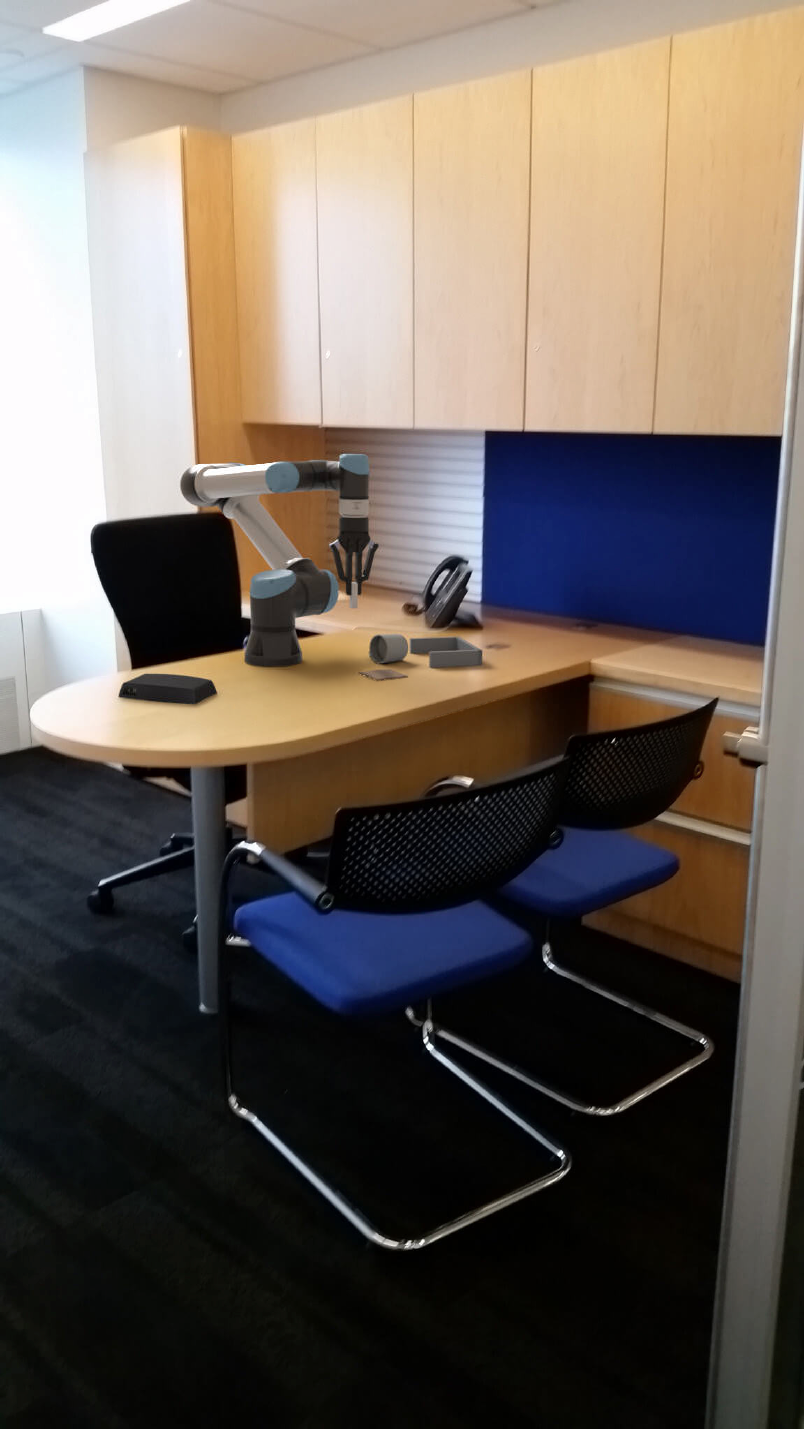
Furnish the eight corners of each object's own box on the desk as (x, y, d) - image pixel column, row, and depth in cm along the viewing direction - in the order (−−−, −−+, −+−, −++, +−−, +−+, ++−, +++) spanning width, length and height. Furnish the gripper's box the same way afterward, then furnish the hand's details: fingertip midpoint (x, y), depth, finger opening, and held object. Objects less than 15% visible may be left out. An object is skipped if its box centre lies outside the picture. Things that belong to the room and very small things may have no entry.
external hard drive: (145, 687, 273) (144, 670, 272) (219, 694, 268) (218, 677, 267) (116, 699, 261) (115, 682, 260) (193, 707, 256) (192, 689, 255)
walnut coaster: (376, 683, 282) (376, 679, 282) (358, 675, 289) (358, 671, 289) (407, 679, 287) (407, 675, 286) (389, 672, 294) (389, 668, 294)
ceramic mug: (410, 661, 304) (410, 633, 302) (387, 665, 299) (387, 636, 297) (383, 656, 312) (383, 628, 310) (360, 659, 306) (360, 631, 304)
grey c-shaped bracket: (430, 667, 298) (430, 652, 297) (409, 652, 316) (409, 638, 315) (481, 665, 301) (482, 650, 300) (458, 650, 319) (458, 636, 318)
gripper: (332, 517, 286) (332, 610, 292) (382, 517, 290) (381, 609, 296) (325, 514, 293) (325, 606, 299) (375, 514, 297) (374, 604, 303)
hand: (353, 607), depth 298 cm, fingers closed
